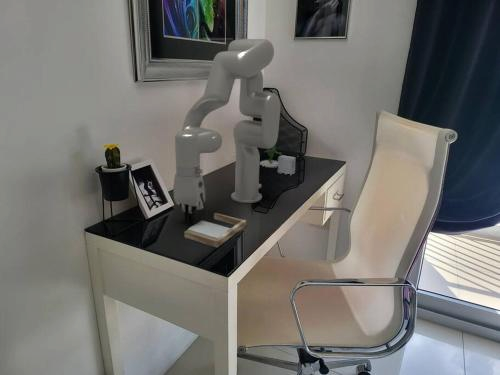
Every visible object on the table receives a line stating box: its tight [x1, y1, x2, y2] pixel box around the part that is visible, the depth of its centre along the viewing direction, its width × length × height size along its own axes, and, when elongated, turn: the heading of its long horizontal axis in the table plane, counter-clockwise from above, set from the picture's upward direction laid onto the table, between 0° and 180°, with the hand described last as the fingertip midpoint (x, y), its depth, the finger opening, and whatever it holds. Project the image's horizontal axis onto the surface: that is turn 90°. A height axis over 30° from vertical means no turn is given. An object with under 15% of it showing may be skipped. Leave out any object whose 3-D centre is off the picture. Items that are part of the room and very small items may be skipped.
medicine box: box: [277, 154, 297, 176], centre depth 175 cm, size 8×4×9 cm, turn 58°
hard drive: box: [187, 220, 232, 239], centre depth 111 cm, size 2×8×12 cm
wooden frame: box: [184, 212, 247, 248], centre depth 111 cm, size 17×12×2 cm
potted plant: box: [259, 145, 284, 168], centre depth 190 cm, size 12×12×10 cm
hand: (189, 222), depth 116 cm, fingers closed
